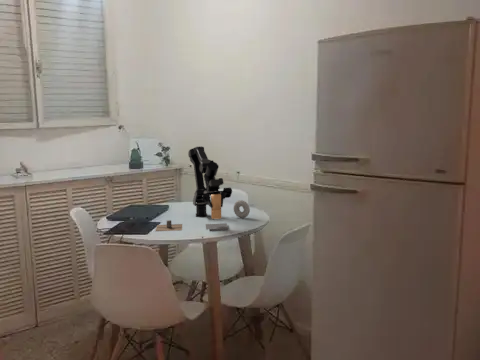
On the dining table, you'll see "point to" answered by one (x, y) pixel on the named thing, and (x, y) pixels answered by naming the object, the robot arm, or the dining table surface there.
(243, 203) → the donut
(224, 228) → the mat
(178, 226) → the post board
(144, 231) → the dining table surface
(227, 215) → the dining table surface
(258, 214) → the dining table surface
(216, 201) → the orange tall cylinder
